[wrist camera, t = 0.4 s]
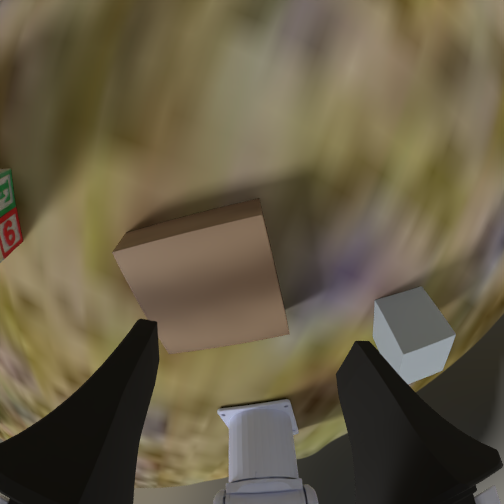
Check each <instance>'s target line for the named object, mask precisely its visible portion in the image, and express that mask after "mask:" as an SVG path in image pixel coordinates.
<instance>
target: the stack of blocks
mask: <svg viewBox="0 0 504 504" xmlns="http://www.w3.org/2000/svg"><path fill="white" fill-rule="evenodd" d="M22 242H23V238H22V233H21V228H20V223H19V219H18V213H17V208H16V204H15V197H14V190H13V182H12V173H11V169H0V262H1V261H2V260H4V259H5V258H6V257H7V256H8V255H9V254H10V253H11V252H12V251H13V250H14V249H15V248H16V247H18V246H19V245H20V244H21V243H22Z"/></svg>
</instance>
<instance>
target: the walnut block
mask: <svg viewBox="0 0 504 504" xmlns="http://www.w3.org/2000/svg"><path fill="white" fill-rule="evenodd" d="M112 253H113V255H114V257H115V259H116V261H117V263H118V265H119V267H120V269H121V271H122V273H123V275H124V277H125V279H126V281H127V283H128V285H129V287H130V288H131V290H132V292H133V294H134V296H135V298H136V299H137V301H138V303H139V305H140V307H141V308H142V310H143V312H144V314H145V315H146V317H147V319H148V320H151V321H157V326H158V337H159V339H160V340H161V342H162V344H163V345H164V347H165V348H166V350H167V352H168V353H169V354H173V353H181V352H189V351H196V350H203V349H210V348H217V347H223V346H229V345H235V344H241V343H246V342H252V341H257V340H263V339H268V338H273V337H278V336H283V335H288V334H289V329H288V323H287V318H286V313H285V308H284V303H283V299H282V294H281V290H280V285H279V281H278V277H277V272H276V268H275V263H274V259H273V255H272V250H271V246H270V242H269V238H268V233H267V229H266V225H265V221H264V216H263V212H262V208H261V204H260V200H259V198H258V199H253V200H249V201H245V202H241V203H236V204H232V205H228V206H224V207H220V208H216V209H212V210H208V211H204V212H200V213H196V214H192V215H188V216H185V217H181V218H177V219H173V220H170V221H166V222H162V223H159V224H155V225H152V226H148V227H144V228H141V229H137V230H134V231H130V232H127V233H126V234H125V235H124V236H123V238H122V239H121V241H120V242H119V243H118V245H117V246H116V248H115V249H114V251H113V252H112Z"/></svg>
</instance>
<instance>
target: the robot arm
mask: <svg viewBox="0 0 504 504" xmlns="http://www.w3.org/2000/svg"><path fill="white" fill-rule="evenodd" d="M158 364H159V346H158V326H157V321H151V320H145V319H139V320H138V321H137V322H136V323H135V325H134V326H133V328H132V329H131V330H130V332H129V333H128V334H127V335H126V337H125V338H124V339H123V341H122V342H121V343H120V344H119V346H118V347H117V348H116V349H115V350H114V351H113V353H112V354H111V355H110V356H109V357H108V359H107V360H106V361H105V362H104V363H103V364H102V365H101V366H100V367H99V369H98V370H97V371H96V372H95V373H94V374H93V375H92V376H91V377H90V378H89V379H88V380H87V381H86V382H85V383H84V384H83V385H82V386H81V387H80V388H79V389H78V390H77V391H76V392H75V393H73V394H72V395H71V396H70V397H69V398H68V399H67V400H66V401H64V402H63V403H62V404H61V405H59V406H58V407H57V408H56V409H54V410H53V411H52V412H51V413H49V414H48V415H47V416H45V417H44V418H42V419H41V420H39V421H38V422H36V423H35V424H33V425H32V426H30V427H29V428H27V429H26V430H24V431H22V432H21V433H19V434H17V435H15V436H13V437H11V438H10V439H8V440H6V441H4V442H2V443H0V492H1V493H2V494H4V495H5V496H7V497H9V498H10V499H8V498H6V497H4V496H2V495H0V504H133V497H134V482H135V472H136V463H137V455H138V447H139V442H140V437H141V433H142V429H143V425H144V421H145V418H146V414H147V411H148V407H149V403H150V400H151V396H152V393H153V389H154V386H155V381H156V375H157V370H158ZM336 377H337V387H338V394H339V399H340V403H341V407H342V411H343V415H344V419H345V423H346V427H347V431H348V434H349V438H350V442H351V447H352V453H353V462H354V472H355V504H501V503H500V499H499V496H498V493H497V490H496V487H495V485H493V486H491V487H490V488H488V489H486V490H484V491H483V492H481V493H480V494H478V495H476V496H475V497H474V496H473V493H474V492H476V491H477V488H476V484H478V483H479V482H481V481H483V480H484V479H486V478H487V477H489V476H490V475H492V474H493V473H495V472H496V471H498V470H499V469H501V468H502V466H503V464H502V461H501V458H500V456H499V453H498V451H497V450H496V449H494V448H492V447H490V446H487V445H485V444H483V443H481V442H479V441H477V440H475V439H473V438H472V437H470V436H468V435H466V434H465V433H463V432H462V431H460V430H459V429H457V428H456V427H455V426H453V425H452V424H450V423H449V422H448V421H446V420H445V419H444V418H442V417H441V416H440V415H439V414H438V413H437V412H435V411H434V410H433V409H432V408H431V407H430V406H429V405H428V404H426V403H425V402H424V401H423V400H422V399H421V398H420V397H419V396H418V395H417V394H416V393H415V392H414V391H413V390H412V388H411V387H410V386H409V385H408V384H407V383H406V382H405V381H404V380H403V379H402V378H401V376H400V375H399V374H398V373H397V372H396V371H395V370H394V369H393V367H392V366H391V365H390V364H389V363H388V362H387V360H386V359H385V358H384V357H383V356H382V355H381V354H380V352H379V351H378V350H377V349H376V348H375V347H374V346H373V345H372V344H371V343H370V342H369V341H355V343H354V344H353V346H352V348H351V350H350V351H349V353H348V355H347V357H346V358H345V360H344V362H343V363H342V365H341V367H340V368H339V370H338V372H337V373H336ZM218 414H219V416H220V417H221V418H222V420H223V421H224V422H225V424H226V425H227V426H228V428H229V483H226V490H223V489H222V490H220V491H219V492H218V493H217V494H216V495H215V496H214V501H213V504H318V499H317V495H316V492H315V490H314V489H313V488H312V487H310V486H309V485H307V484H306V485H303V484H302V479H301V478H300V479H299V478H298V470H297V463H296V454H295V446H294V439H293V435H295V434H298V433H299V431H298V427H297V424H296V420H295V417H294V413H293V410H292V406H291V403H290V400H288V399H284V400H278V401H272V402H266V403H259V404H252V405H245V406H237V407H228V408H220V409H218Z"/></svg>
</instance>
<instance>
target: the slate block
mask: <svg viewBox="0 0 504 504" xmlns="http://www.w3.org/2000/svg"><path fill="white" fill-rule="evenodd" d="M455 336H456V334H455V332H454V331H453V329H452V328H451V326H450V325H449V323H448V322H447V321H446V319H445V318H444V316H443V315H442V313H441V312H440V311H439V309H438V308H437V306H436V305H435V304H434V302H433V301H432V299H431V298H430V297H429V295H428V294H427V293H426V291H425V290H424V289H423V287H422V286H421V287H418V288H414V289H411V290H408V291H404V292H401V293H398V294H394V295H391V296H387V297H384V298H380V299H377V300H375V309H374V326H373V339H374V341H375V343H376V345H377V347H378V350H379V352H380V354H381V355H382V356H383V357H384V358H385V359H386V360H387V362H388V363H389V364H390V365H391V366H392V367H393V369H394V370H395V371H396V372H397V373H398V374H399V375H400V376H401V378H402V379H403V380H404V381H405V382H406V383H407V384H409V383H412V382H415V381H417V380H420V379H423V378H425V377H428V376H430V375H433V374H435V373H437V372H440V371H442V370H443V367H444V365H445V363H446V360H447V358H448V355H449V352H450V350H451V347H452V344H453V341H454V339H455Z"/></svg>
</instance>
